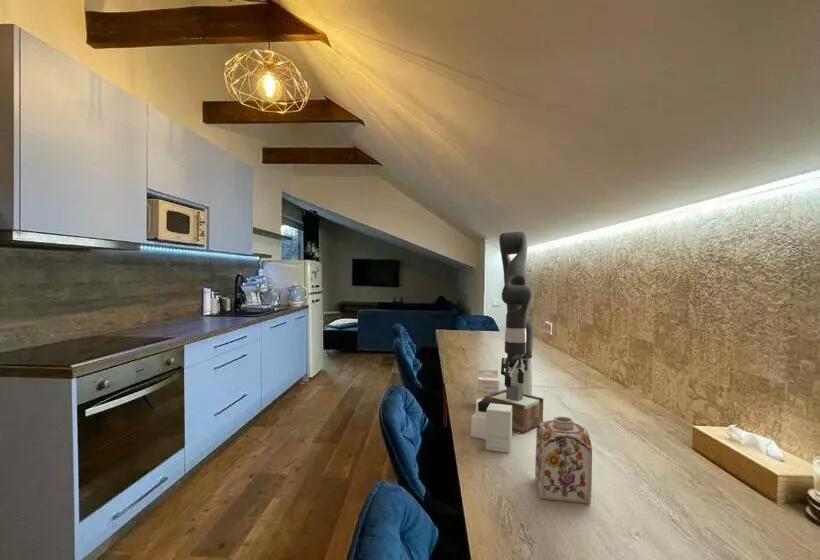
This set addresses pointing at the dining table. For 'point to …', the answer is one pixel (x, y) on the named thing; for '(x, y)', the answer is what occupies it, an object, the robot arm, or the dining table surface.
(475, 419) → the medicine bottle
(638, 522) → the dining table surface
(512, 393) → the lid
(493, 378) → the ink cartridge box
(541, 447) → the decorative jar
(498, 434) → the supplement box
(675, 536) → the dining table surface
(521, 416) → the box
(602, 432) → the dining table surface
